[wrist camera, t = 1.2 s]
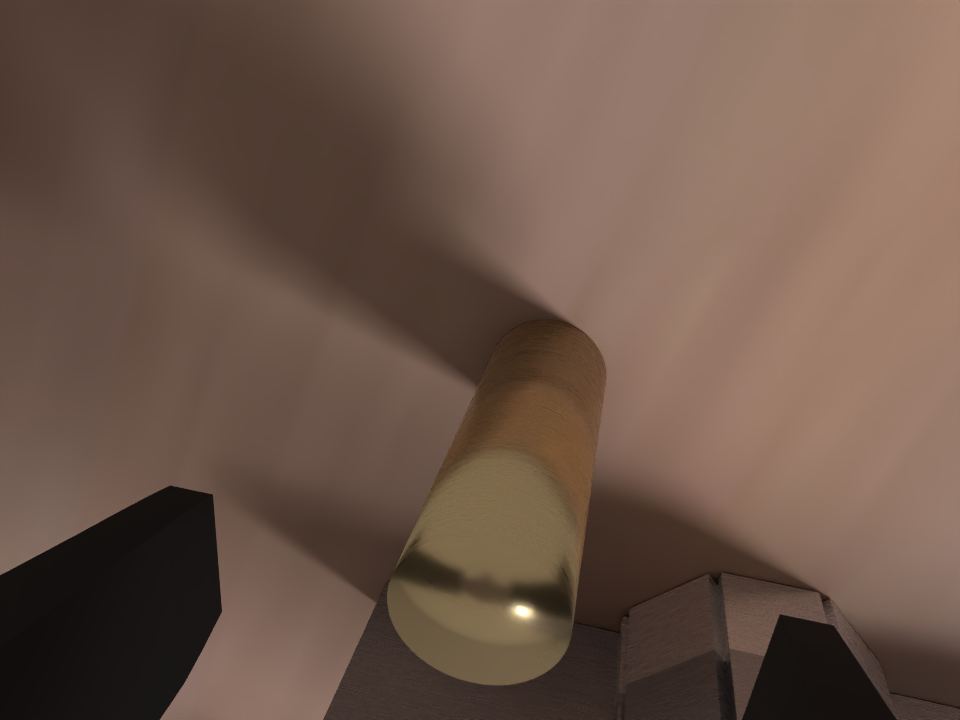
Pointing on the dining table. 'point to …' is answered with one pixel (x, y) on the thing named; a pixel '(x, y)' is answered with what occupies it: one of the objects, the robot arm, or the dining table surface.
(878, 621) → the dining table surface
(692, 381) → the dining table surface
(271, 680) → the dining table surface
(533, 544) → the hinge pin
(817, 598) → the hinge
